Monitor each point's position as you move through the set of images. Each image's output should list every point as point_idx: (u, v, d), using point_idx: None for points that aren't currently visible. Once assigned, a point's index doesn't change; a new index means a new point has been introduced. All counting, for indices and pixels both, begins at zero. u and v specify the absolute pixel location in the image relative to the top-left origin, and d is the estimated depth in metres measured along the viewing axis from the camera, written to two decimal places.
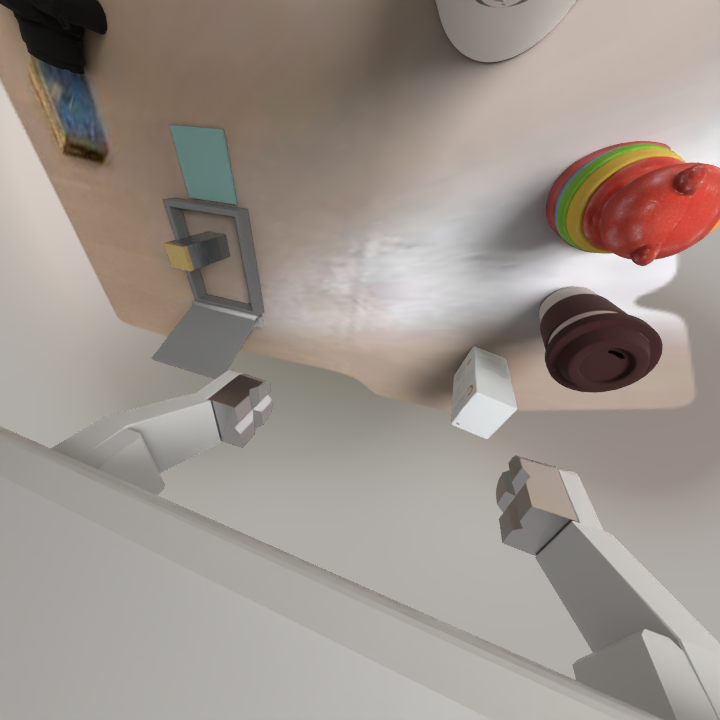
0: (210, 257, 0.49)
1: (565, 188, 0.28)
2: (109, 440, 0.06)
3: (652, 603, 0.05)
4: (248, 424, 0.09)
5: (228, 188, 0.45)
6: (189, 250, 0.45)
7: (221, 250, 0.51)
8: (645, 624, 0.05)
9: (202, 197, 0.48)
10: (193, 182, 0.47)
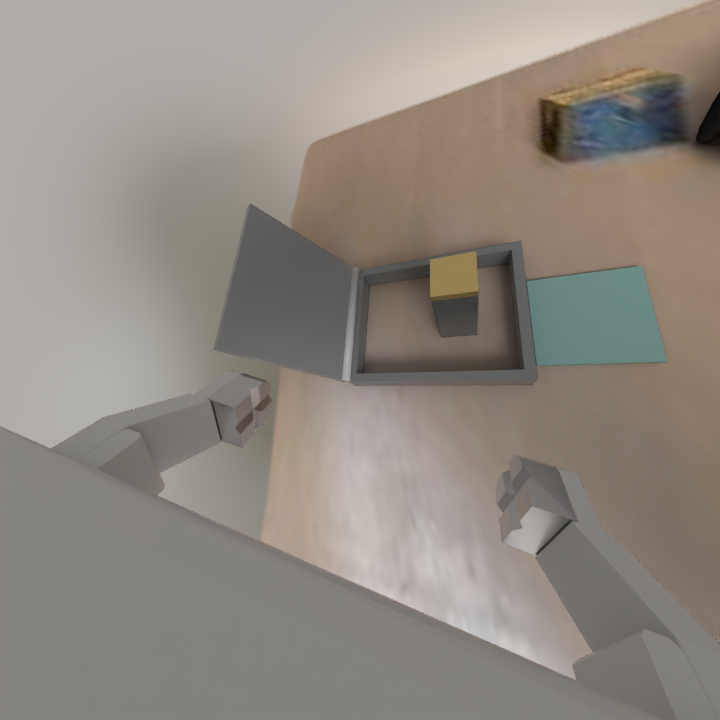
0: (446, 319, 0.28)
1: None
2: (109, 440, 0.06)
3: (652, 603, 0.05)
4: (248, 424, 0.09)
5: (561, 355, 0.27)
6: (468, 298, 0.24)
7: (454, 330, 0.31)
8: (644, 623, 0.05)
9: (533, 304, 0.30)
10: (554, 292, 0.29)
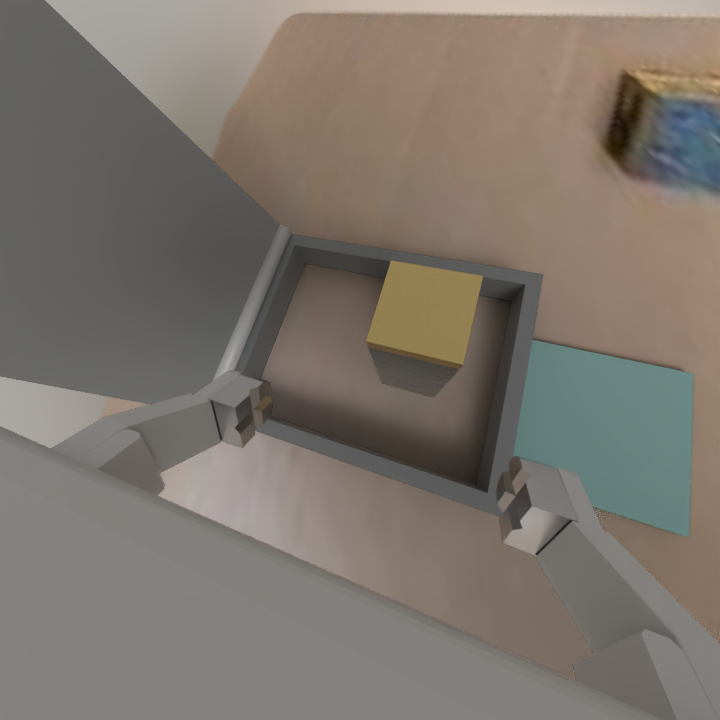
0: (392, 372, 0.16)
1: None
2: (109, 440, 0.06)
3: (652, 603, 0.05)
4: (248, 424, 0.09)
5: None
6: (439, 366, 0.12)
7: (402, 384, 0.19)
8: (643, 623, 0.05)
9: (526, 379, 0.19)
10: (562, 371, 0.19)
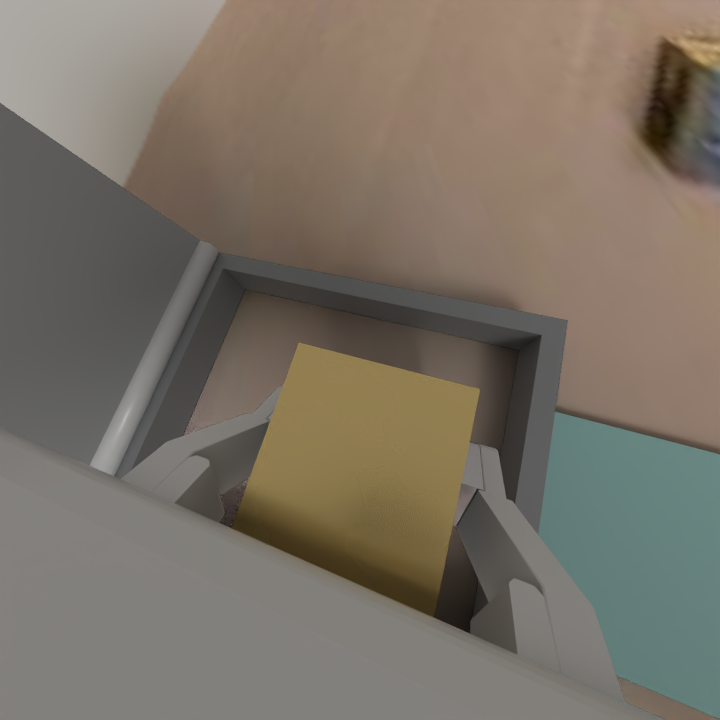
0: None
1: None
2: (179, 468, 0.06)
3: (530, 558, 0.05)
4: None
5: None
6: None
7: None
8: (522, 577, 0.05)
9: None
10: (594, 461, 0.13)
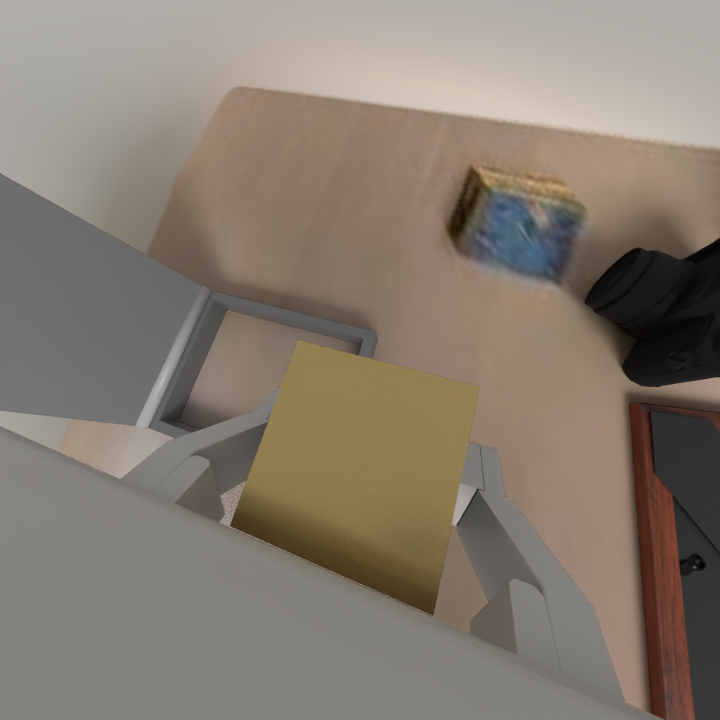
0: None
1: None
2: (179, 468, 0.06)
3: (530, 558, 0.05)
4: None
5: None
6: None
7: None
8: (523, 577, 0.05)
9: None
10: None
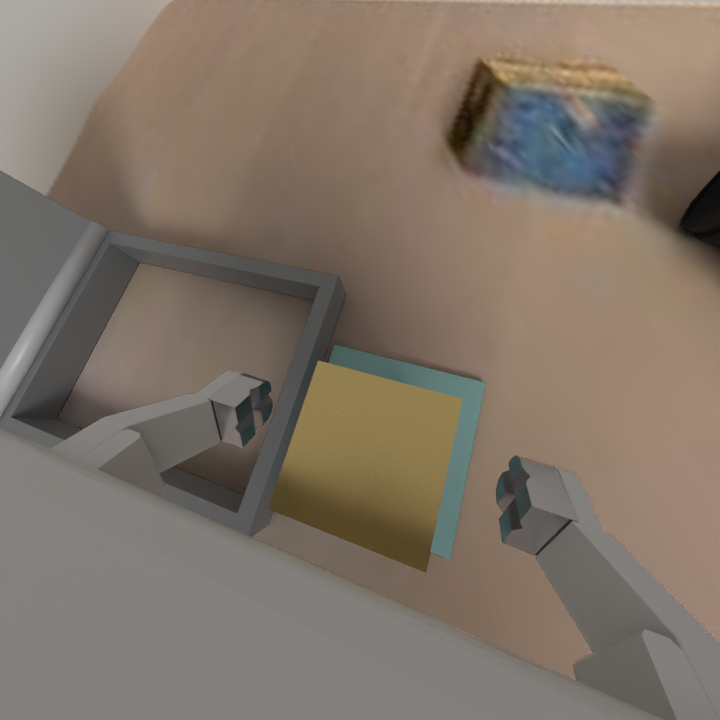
0: None
1: None
2: (109, 440, 0.06)
3: (652, 603, 0.05)
4: (248, 424, 0.09)
5: None
6: None
7: None
8: (645, 624, 0.05)
9: None
10: None
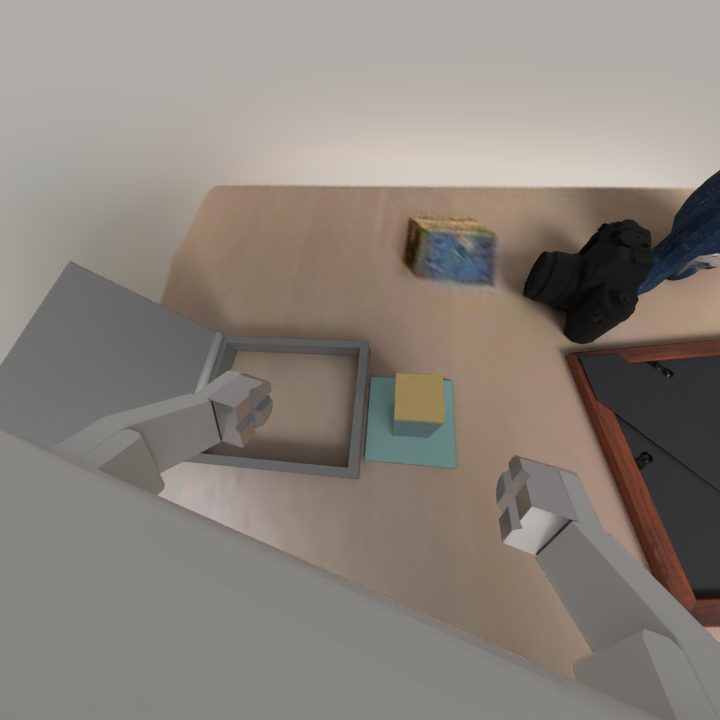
0: (403, 429, 0.26)
1: None
2: (109, 440, 0.06)
3: (652, 603, 0.05)
4: (248, 424, 0.09)
5: (385, 452, 0.30)
6: (432, 423, 0.22)
7: (407, 434, 0.29)
8: (644, 623, 0.05)
9: (372, 400, 0.33)
10: (390, 392, 0.33)
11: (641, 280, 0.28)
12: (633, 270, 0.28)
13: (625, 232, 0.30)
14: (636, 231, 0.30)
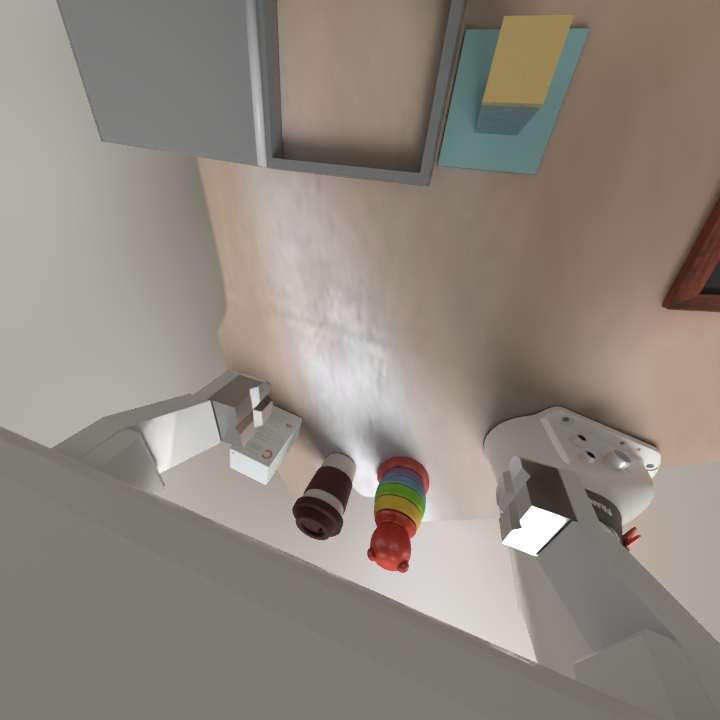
0: (490, 120, 0.23)
1: (409, 485, 0.48)
2: (109, 440, 0.06)
3: (652, 603, 0.05)
4: (248, 424, 0.09)
5: (461, 156, 0.28)
6: (527, 108, 0.19)
7: (493, 129, 0.25)
8: (644, 624, 0.05)
9: (459, 77, 0.26)
10: (487, 60, 0.25)
11: None
12: None
13: None
14: None
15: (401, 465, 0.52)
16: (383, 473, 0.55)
